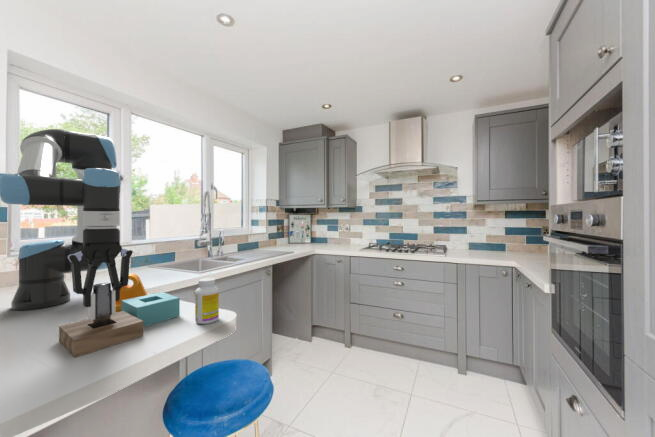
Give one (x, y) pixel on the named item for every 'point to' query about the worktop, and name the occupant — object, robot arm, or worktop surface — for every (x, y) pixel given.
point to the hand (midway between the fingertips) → (102, 316)
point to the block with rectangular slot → (152, 307)
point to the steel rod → (102, 304)
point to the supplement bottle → (206, 302)
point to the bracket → (131, 291)
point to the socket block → (99, 333)
